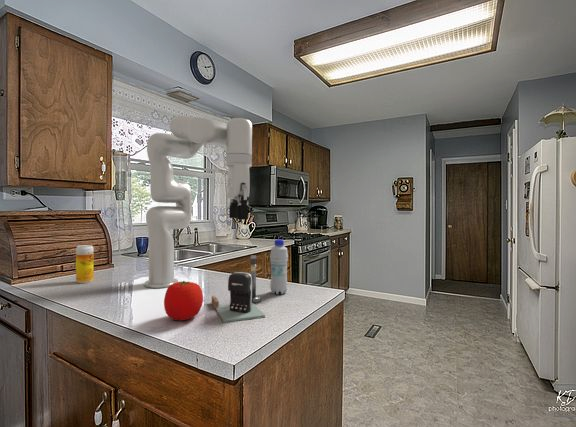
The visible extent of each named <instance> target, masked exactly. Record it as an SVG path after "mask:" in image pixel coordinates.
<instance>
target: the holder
mask: <svg viewBox="0 0 576 427" xmlns="http://www.w3.org/2000/svg"><path fill="white" fill-rule="evenodd" d="M211 304H212V306H213V308H214V310H216V307H220V303H219V300H218V299H217V297H216V295H211Z"/></svg>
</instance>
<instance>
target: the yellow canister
mask: <svg viewBox="0 0 576 427" xmlns="http://www.w3.org/2000/svg"><path fill="white" fill-rule="evenodd" d="M94 251H95V248H94V246H93V245H92V244H82V245H77V246H76V248H75V281H76V282H77V283H78V284H80V285H81V284H90V283H92V282H93V280H95V279H94V278H95V276H94V275H95V274H94V272H95V271H94V269H95V268H94V265H95V263H94V258H95V255H94V254H95V253H94Z"/></svg>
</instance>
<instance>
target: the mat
mask: <svg viewBox="0 0 576 427" xmlns="http://www.w3.org/2000/svg"><path fill="white" fill-rule="evenodd" d="M215 310H216V312H217V314H218V315H219V317H220V319H221V320H222V322H223V323H225V324H226V323H231V322H238V321H239V322H240V321H246V320H253V319H254V320H255V319H261V318H266V315H265V313H263V311H262V310H261V309H260V308H259V307H258V306H257V304H254V303H252V310H251V311H249V312H236V311H231V310H230V305H226V306H219V307H216V309H215Z"/></svg>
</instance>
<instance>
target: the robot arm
mask: <svg viewBox="0 0 576 427" xmlns="http://www.w3.org/2000/svg"><path fill="white" fill-rule="evenodd" d="M169 131H170V132H171V134H170V133H166V132H164V133H163V132H157V133H152V134H151V135H150V136H149V138H148V139H147V142H146V152H147V158H148V161H149V166H150V180H149V181H150V182H149V183H150V184H149V185H150V199H152V201H153V202H156V203H159V204H160V203H163V204H166V203H167V204H175V205H176V206H175V205H172V206H171V205H156V206H152V207H150V208H149V209H148V210H147V211H146V212H145V213H146V214H145V221H146V227H147V232H148V280H145V282H144V287H145V288H148V289H149V288H152V289H162V288H168V287H169V286H170V285H171V284H173V283H176V282H179V279H176V278H175V240H174V237H173V235H172V234H171V232H170V231H169V230H181V229H182V230H183V229H186V228H188V227H189V226H190V224H191V223H192V222H191V221H192V189H191V186H190V184H189V183H188V182H186V180H181V179H174V167H173V165H172V163H171V161H170V160H169V158H168V157H172V158H178V159H186V160H188V159H192V158H193V157H194V156H195V155H197V153H198V152H199V151H200V150H201V148H202V147H203V146H204V145H208V146H214V147H220V148H225V150H226V154H225V155H226V159H225V165H226V167H228V169H227V170H228V171H227V179H226V181H227V182H226V199H227V200H229V210H228V211H229V214H228V215H229V218H230V219H237V220H246V221H247V220H248V219H249V197H250V184H251V183H250V180H251V178H250V168H252V165H253V162H252V161H253V160H252V159H253V158H252V157H253V124H252V121H250V120H249V119H246V118H244V117H243V118H242V117H234V118H230V119H228V121H227V122H224V121H219V120H215V119H212V118H211V119H210V118H205V117H198V116H189V115H185V114H184V115H182V114H180V115H177V116H174V117H173V118H171V120H170V121H169Z"/></svg>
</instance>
